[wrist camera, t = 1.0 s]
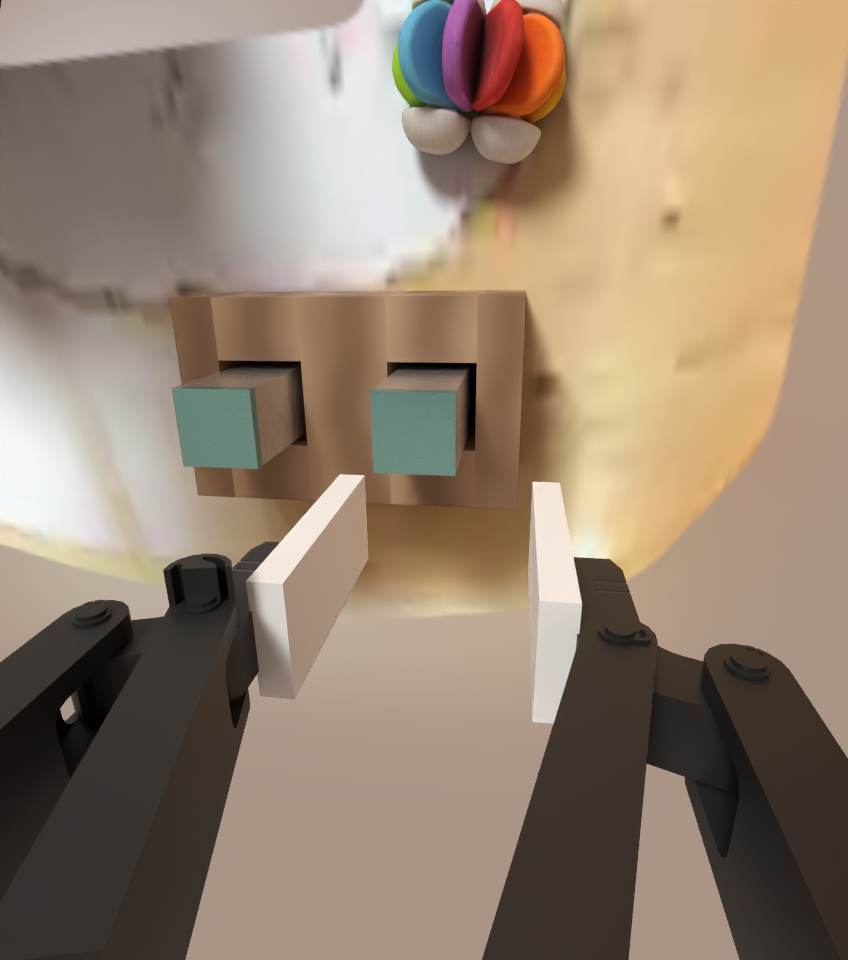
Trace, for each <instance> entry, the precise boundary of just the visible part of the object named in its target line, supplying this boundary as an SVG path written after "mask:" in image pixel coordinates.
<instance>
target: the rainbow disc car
mask: <svg viewBox="0 0 848 960" xmlns="http://www.w3.org/2000/svg"><path fill="white" fill-rule="evenodd" d="M563 25H564V11H563V6H562V2H561V0H494V2H493V5H492V8H491V10H490V11H489V12H488V14H486V9H485V3H484V0H413V3H412V12H411V13H410V14H409V16H408V17H407V19H406V20H405V22H404V24H403V26H402V29H401V32H400V35H399V40H398V42H397V45H396V47H395V50H394V54H393V65H392V69H393V76H394V80H395V83H396V86H397V88H398V90H399V92H400V93H401V95H402V97H403V98H404V99H405V100H406V101H407V102H408V103H409V104H410V106H411V107H412V108H407V109H405V110H404V111H403V112H402V123H403V128H404V131H405V134H406V136H407V138H408V139H409V141H410V142H411V144H412V145H413V146H414V147H415V148H416V149H418V150H420V151H422V152H426V153H430V154H437V155H446V154H449V153H451V152H453V151H455V150H456V149H457V148H458V147H460V146H461V144H462V143H463V142H464V141H465V139H466V138H467V135H468V133H469V132H471V135H472V139H473V142H474V145H475V147H476V148H477V150H478V152H479V153H480V154H481V155H482V156H483V157H484V158H485V159H488V160H490V161H494V162H498V163H506V164H513V163H517V162H519V161H521V160H523V159H524V158H526V157H527V156H528V155H529V154H530V153H531V152H532V151H533V149H534V148H535V146H536V145H537V143H538V141H539V138H540V136H541V131H540V129H539V128H538V127H536V126H534V125H533V124H531V123H535V122H536V121H537V120H539V119H541V118H543V117H544V116H546V115H547V114H548V113H550V112H551V111H552V110H553V109H554V107H555V106H556V105H557V103H558V102H559V100H560V98H561V97H562V94H563V91H564V87H565V82H566V70H565V48H564V43H563V39H562V36H561V34H560V32H561V31H562V29H563ZM472 110H475V111H477V112H480V114H478V115H477V116H476V117H474V118H473V119H472V120H470V119H469V118H466V116H465V115H464V114H465V113H466V112H470V111H472Z"/></svg>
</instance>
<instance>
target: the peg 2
mask: <svg viewBox="0 0 848 960" xmlns="http://www.w3.org/2000/svg"><path fill="white" fill-rule="evenodd" d="M469 378H470V366H401V367H400V368H398V369H397V370H396V371H395V372H393V373H392V374H391V375H390V376H388V377H387V378H386V379H385V380H384V381H382V382H381V383H380V384H379V385H377V386H376V387H375V388H374V389H372V390H371V391H370V402H371V426H372V450H373V473H387V474H414V475H440V476H455V475H456V472H457V469H458V466H459V463H460V460H461V456H462V453H463V450H464V447H465V444H466V441H467V437H468V434H469Z"/></svg>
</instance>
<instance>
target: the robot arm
mask: <svg viewBox="0 0 848 960" xmlns="http://www.w3.org/2000/svg"><path fill="white" fill-rule="evenodd" d="M0 7H1V0H0ZM368 558H369V555H368V534H367V513H366V492H365V475H344V474H340V475H339V476H338V477H337V478H336V479H335V481H334V482H333V483H332V484H331V485H330V486H329V487H328V489H327V490H326V491H325V492H324V493H323V494H322V495H321V497H320V498H319V499H318V500H317V501H316V502H315V503H314V504H313V506H312V507H311V508H310V509H309V510H308V511H307V512H306V514H305V515H304V516H303V517H302V518H301V519H300V520H299V522H298V523H297V524H296V525H295V526H294V527H293V528H292V529H291V531H290V532H289V533H288V534H287V535H286V536H285V537H284V539H283V540H282V541H281V542H265V543H263V544H261V545H259V546H257V547H255V548H253V549H251V550H250V551H249V552H248V553H247V554H246V555H245V556H244V557H243V558H242V559H241V562H238V563H237V564H236V565H235V566H234V567H233V570H232V563H231V560H230V559H228V558H227V557H226V556H222V555H219V554H200V555H192V556H189V557H186V558H182V559H179V560H177V561H175V562H173V563H171V564H170V565H168V566H167V567H166V568H165V569H164V570H163V571H164V577H165V583H166V588H167V594H168V600H169V606H170V607H169V609H168V610H167V612H166V614H165V616H164V617H159V618H149V619H140V620H131V617H130V612H129V608H128V606H127V605H126V604H125V603H123V602H120V601H115V600H105V601H104V600H98V601H95V602H93V601H92V602H88V603H85V604H83V605H81V606H79V607H76V608H74V609H72V610H70V611H68V612H67V613H65V614H63V615H62V616H61V617H59V618H58V619H57V620H55V621H54V622H53V623H51V624H50V625H49V626H47V627H46V628H45V629H44V630H42V631H41V632H40V633H38V634H37V635H36V636H34V637H33V638H32V639H30V640H29V641H28V642H26V643H25V644H24V645H23V646H21V647H20V648H19V649H17V650H16V651H15V652H13V653H12V654H11V655H10V656H8V657H7V658H5V659H4V660H3V661H2V662H0V960H185V959H186V955H187V951H188V947H189V943H190V939H191V936H192V932H193V928H194V924H195V920H196V916H197V912H198V908H199V904H200V900H201V896H202V893H203V889H204V885H205V881H206V877H207V873H208V869H209V865H210V861H211V857H212V854H213V850H214V846H215V841H216V838H217V833H218V830H219V826H220V822H221V818H222V815H223V811H224V807H225V803H226V799H227V795H228V791H229V787H230V783H231V779H232V776H233V772H234V768H235V764H236V760H237V756H238V752H239V748H240V744H241V740H242V736H243V733H244V729H245V725H246V721H247V717H248V713H249V709H250V699H249V693H248V692H249V691H248V687H249V685H250V684H251V682H252V681H253V679H254V678H255V676H256V675H257V674H258V682H259V689H260V696H268V697H278V698H289V699H295V697H296V695H297V693H298V691H299V690H300V688H301V686H302V684H303V682H304V680H305V678H306V676H307V674H308V672H309V670H310V669H311V667H312V665H313V663H314V661H315V659H316V657H317V655H318V653H319V651H320V650H321V648H322V646H323V644H324V642H325V640H326V638H327V636H328V634H329V632H330V631H331V629H332V627H333V625H334V623H335V621H336V619H337V617H338V615H339V613H340V612H341V610H342V608H343V606H344V604H345V602H346V600H347V598H348V596H349V594H350V592H351V591H352V589H353V587H354V585H355V583H356V581H357V579H358V577H359V575H360V573H361V572H362V570H363V568H364V566H365V564H366V562H367V560H368ZM528 579H529V615H530V616H529V617H530V653H531V691H532V721H533V722H540V723H550V724H553V727H552V731H551V734H550V737H549V741H548V744H547V747H546V750H545V754H544V757H543V760H542V764H541V767H540V770H539V773H538V777H537V781H536V783H535V787H534V790H533V793H532V797H531V800H530V803H529V807H528V810H527V813H526V816H525V820H524V823H523V826H522V830H521V833H520V836H519V840H518V843H517V846H516V849H515V853H514V856H513V860H512V863H511V866H510V869H509V873H508V876H507V879H506V882H505V886H504V889H503V892H502V896H501V899H500V902H499V905H498V909H497V912H496V915H495V919H494V922H493V925H492V929H491V932H490V935H489V938H488V942H487V945H486V948H485V952H484V955H483V958H482V960H628V959H629V948H630V937H631V926H632V915H633V904H634V893H635V882H636V872H637V861H638V850H639V839H640V827H641V816H642V806H643V794H644V784H645V774H646V773H645V772H646V763H647V764H650V765H653V766H656V767H659V768H661V769H664V770H667V771H670V772H673V773H676V774H679V775H681V776H684V777H685V784H686V788H687V791H688V794H689V797H690V800H691V804H692V807H693V810H694V813H695V817H696V820H697V823H698V827H699V830H700V833H701V836H702V839H703V843H704V846H705V849H706V852H707V856H708V859H709V862H710V865H711V869H712V872H713V875H714V878H715V881H716V885H717V888H718V891H719V894H720V898H721V901H722V904H723V907H724V910H725V914H726V917H727V920H728V923H729V927H730V930H731V933H732V937H733V940H734V943H735V946H736V949H737V953H738V956H739V959H740V960H848V758H847V757H846V755H845V754H844V752H843V751H842V749H841V748H840V746H839V745H838V743H837V741H836V740H835V739H834V737H833V735H832V734H831V732H830V731H829V729H828V728H827V726H826V725H825V723H824V722H823V720H822V719H821V717H820V716H819V714H818V713H817V711H816V710H815V708H814V707H813V705H812V703H811V702H810V700H809V699H808V697H807V696H806V695H805V693H804V691H803V690H802V688H801V687H800V685H799V684H798V682H797V681H796V679H795V678H794V676H793V675H792V673H791V672H790V670H789V669H788V668H787V667H786V666H785V665H784V664H783V663H782V662H781V661H780V660H778V659H777V658H775V657H773V656H772V655H770V654H768V653H767V652H764V651H762V650H760V649H756V648H754V647H751V646H743V645H738V644H720V645H717V646H714V647H711V648H710V649H709V650H708V651H707V652H706V654H705V656H704V662H703V661H699V660H695V659H692V658H688V657H684V656H681V655H678V654H674V653H672V652H669V651H667V650H665V649H663V648H661V647H659V646H658V645H657V639H656V635H655V633H654V632H652V630H651V629H650V628H649V627H648V626H646V625H644V624H642V623H640V621H639V618H638V615H637V612H636V609H635V606H634V603H633V600H632V597H631V594H630V591H629V588H628V586H627V584H626V580H625V577H624V574H623V571H622V569H620V568H619V567H618V566H617V565H616V564H615V563H613V562H612V561H611V560H610V559H595V558H577V557H573V552H572V547H571V541H570V536H569V530H568V525H567V520H566V514H565V509H564V503H563V498H562V493H561V487H560V483H555V482H532V501H531V521H530V541H529V561H528ZM70 696H71V697H72V701H73V705H74V709H75V713H74V714H73V715H72V716H71V717H70V718H69V719H67V720H66V721H64V720H63V718H62V715H61V711H60V708H61V707H62V705H63V704H64V702H65V701H66V700H67V699H68V698H69V697H70Z"/></svg>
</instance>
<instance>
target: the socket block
mask: <svg viewBox="0 0 848 960" xmlns="http://www.w3.org/2000/svg"><path fill="white" fill-rule="evenodd" d="M169 299H170V306H171V313H172V320H173V327H174V333H175V340H176V347H177V354H178V361H179V368H180V374H181V381H182V385H183V384H186V383H189V382H192V381H195V380H198V379H201V378H204V377H207V376H210V375H213V374H216V373H219V372H222V371H225V370H228V369H230V368H233V367H236V366H239V365H242V364H265V365H274V363H273V361H301V371H302V383H303V396H304V409H305V421H306V433H305V434H303V435H302V436H301V437H299V438H298V439H297V440H295V441H294V442H293V443H292V444H290V445H289V446H288V447H286V448H285V449H284V450H282V451H281V452H280V453H278V454H277V455H276V456H274V457H273V458H272V459H270V460H269V461H268V462H267V463H265V464H264V465H263V466H261V467H260V468H259V469H245V468H218V467H194V470H195V477H196V483H197V490H198V495H202V496H224V497H246V498H269V499H291V500H313V501H317V500H318V499H319V498H320V497H321V495H322V494H323V493H324V492H325V491H326V490H327V489H328V487H329V486H330V485H331V484H332V483H333V482H334V481H335V479H336V478H337V477H338V476H339V475H340V474H344V475H365V492H366V503H379V504H402V505H424V506H446V507H468V508H490V509H512V510H517V496H518V472H519V449H520V425H521V401H522V378H523V354H524V331H525V307H526V293H525V290H519V291H393V292H266V293H223V294H211V295H198V296H186V297H173V298H169ZM412 362H431V363H477V371H476V418H469V434H468V437H467V441H466V444H465V447H464V450H463V453H462V456H461V460H460V463H459V466H458V469H457V472H456V475H455V476H440V475H414V474H387V473H373V450H372V426H371V402H370V391H371V390H372V389H374V388H375V387H376V386H377V385H379V384H380V383H381V382H382V381H384V380H385V379H386V378H387V377H388V376H390V375H391V374H392V373H393V372H395V371H396V370H397V369H398V368H400V367H401V366H412Z"/></svg>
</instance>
